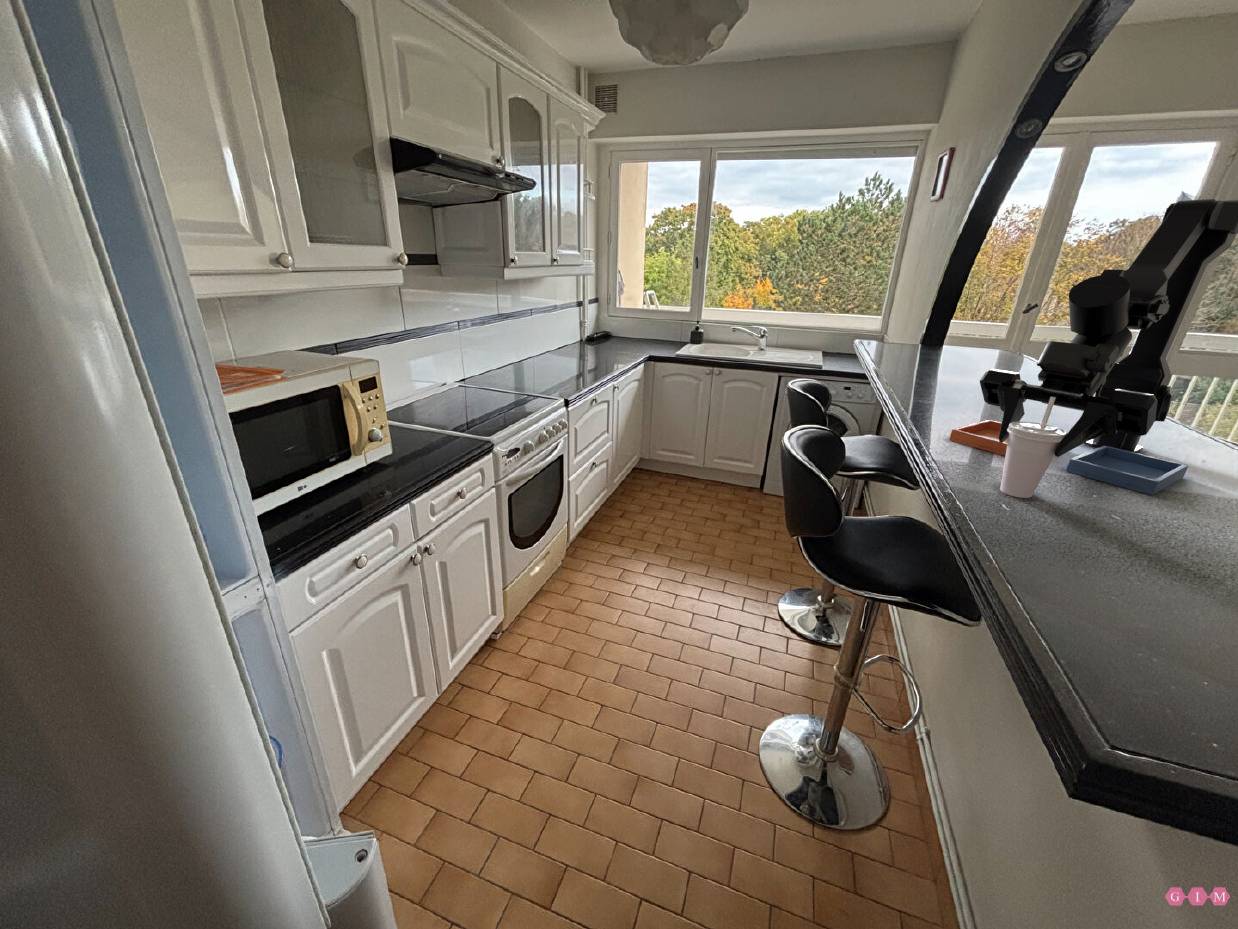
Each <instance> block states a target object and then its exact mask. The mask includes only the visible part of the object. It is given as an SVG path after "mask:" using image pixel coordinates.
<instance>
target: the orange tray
mask: <svg viewBox="0 0 1238 929" xmlns="http://www.w3.org/2000/svg"><path fill="white" fill-rule="evenodd" d="M1001 424H1002V421H996V420H993V419H986V420H982V421H978V422H975V423H971V424H967V425H963V426H959V427H956V428H952V429H951V432H950V436H949V439H948V440H949V441H952V442H955V443H958V444H962V445H965V446H969V447H973V448H976V449H980V450H982V451H987V452H990V453H993V454H997V455H1001V456H1004V457H1005V456H1006V450H1007V443H1008V438H1009V437H1008V438H1007V439H1006V440H1005V441H1004V442H999V434H1000V429H1001Z"/></svg>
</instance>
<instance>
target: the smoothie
mask: <svg viewBox="0 0 1238 929" xmlns="http://www.w3.org/2000/svg"><path fill="white" fill-rule="evenodd" d="M1055 399H1056V397H1050V400H1049V403H1048V404H1047V406H1046V409H1045V412H1044V415H1043V417H1042V420H1041V422H1034V421H1022V420H1020V421H1018V422H1012V423H1010V424H1009V427H1008V429H1007V431H1008V432H1009V438H1008V443H1007V450H1006V456H1004V463H1003V470H1002V475H1001V481H1000V486H999V487H1000V488H999V490H1000V491H1001V492H1002V493H1004V494H1005V495H1008V496H1011V497H1015V498H1020V499H1030V498H1032V497H1033V495H1034V494H1035V492H1036V490H1037V488H1038V486H1039V484H1040V482H1041V480H1042V479H1043V477H1044V475H1045V473H1046V471H1047V469H1048V468H1049V466H1050V464H1051V462H1052V460H1053V459H1054V458H1055V455H1054V452H1055V450H1056V448H1057V447H1058V445H1059V443H1060V442H1061V441H1062V439H1063V438H1064V437H1065V436H1066V435H1067V433H1068V432H1067V431H1066V430H1064V429H1063V428H1060V427H1057V426H1054V425H1050V424H1048V421H1049V418H1050V416H1051V412H1052V410H1053V407H1054V405H1053V404H1054V401H1055Z"/></svg>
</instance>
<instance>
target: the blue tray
mask: <svg viewBox="0 0 1238 929" xmlns="http://www.w3.org/2000/svg"><path fill="white" fill-rule="evenodd" d="M1189 466H1190V465H1188V464H1185V463H1180V462H1176V461H1171V460H1168V459H1163V458H1158V457H1156V456H1150V455H1147V454H1142V453H1138V452H1136V453H1134V452H1130V451H1125V450H1121V449H1117V448H1113V447H1108V446H1102V447H1100V448H1098V447H1096V448H1095V449H1092V450H1090V451H1087V452H1085V453H1081V454H1080V455H1077V456H1074V457H1072V458H1070V459H1069V462H1068V464H1067V466H1066V468H1065V471H1066V472H1068V473H1071V474H1074V475H1078V476H1082V477H1086V478H1089V479H1092V480H1096V481H1099V482H1102V483H1103V482H1104V483H1107V484H1110V485H1114V486H1116V487H1117V486H1118V487H1121V488H1125V489H1128V490H1130V491H1131V490H1132V491H1135V492H1139V493H1142V494H1146V495H1149V496H1154V495H1155V494H1157V493H1159V492H1160V491H1163V490H1164V489H1166V488H1168V487H1170V486H1171V485H1173V484H1175V483H1176V482H1178V481H1180V480H1181V479H1183V478H1184V477H1185V474H1187V473H1186V472H1187V471H1188V469H1189Z"/></svg>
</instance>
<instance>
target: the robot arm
mask: <svg viewBox="0 0 1238 929" xmlns="http://www.w3.org/2000/svg"><path fill="white" fill-rule="evenodd" d="M1164 211H1165V212H1164V215H1163V217H1162V220H1161V222H1160V224H1159V226H1158V228H1157V229H1156V230H1155V232H1154V233H1153V235H1151V237H1150V238H1149V240H1148V241H1147V242H1146V244H1145V245H1144V247H1143V248H1142V250H1140V252H1139V253H1138V255H1137V256H1136V257H1135V259H1134V260H1133V262H1132V263H1131V264H1130V265H1129V267H1128V268H1127V269H1108V268H1107V269H1103V270H1102V272H1101V273H1100V275H1095V276H1091V277H1088V278H1086V279H1084V280H1082V281H1080V282H1078V283H1077V284H1075V285H1073V286H1072V287H1071V288H1070V289H1069V292H1068V309H1069V310H1068V311H1069V312H1068V313H1069V327H1070V331H1071V332H1072V333H1075V336H1074V337H1073V339H1072V340H1071V341H1070V342H1065V341H1054V340H1049V341H1047V342H1046V344H1045V346H1044V348H1043V351H1042V352H1041V354H1040V356H1039V358H1038V361H1037V362H1036V367H1039V368H1040V369H1041V370H1040V371H1039V373H1038V374H1037V379H1038V380H1037V381H1040V382H1041V384H1040V385H1037V384H1032V383H1031V384H1030V383H1027V382H1026V381H1025V380H1022V379H1021V373H1020V372H1016V371H1009V370H1003V369H997V368H992V369H989V370H987V371H985V372H984V374H983V375H982V377H981V378H980V379H979V385H980V389H981V393H982V398H983V401H984V403H986V404H987V405H991V406H995V407H999V408H1000V410H1001V411H1002V412H1003V414H1002V420H1001V423H1002V424H1001V429H1000V434H999V442H1004V441H1005V440H1006V439H1007V438H1008V437H1009V432H1008V431H1007V429H1008V427H1009V424H1010V423H1012V422H1018V421H1022V419H1023V417H1024V416H1025V414H1026V413H1025V408H1024V403H1025V402H1026V401H1028V400H1029V401H1035V402H1039V403H1041V404H1045V405H1048V403H1049V400H1050V397H1056V399H1055V401H1054V404H1053V406H1056V407H1061V408H1065V409H1071V410H1076V411H1080V412H1082V414H1081V416H1080V417H1079V419H1078V420H1077V421H1076V422H1075V423H1074V425H1073V426H1072V427H1071V428H1070V430H1069V431H1068V432H1067V435H1066V436H1065V437H1064V438H1063V439H1062V441H1061V442H1060V443H1059V445H1058V447H1057V448H1056V450H1055V452H1054V457H1057V458H1059V457H1061V456H1063V455H1064V454H1067V453H1068V452H1070V451H1072V450H1074V449H1076V448H1078V447H1080V446H1082V445H1083V444H1084V445H1086V446H1089V447H1094V448H1100V447H1102V446H1108V447H1113V448H1117V449H1121V450H1125V451H1130V452H1134V453H1138V452H1140V451H1143V450H1144V446H1142V445H1139V442H1140V439H1141V437H1142V436H1147V435H1148V433H1149V432H1150V430H1151V428H1152V427H1153V425H1154V423H1156V422H1165V421H1166V418H1167V416H1168V414H1169V411H1170V407H1171V403H1172V399H1173V395H1172V393H1171V389H1172V387H1171V386H1170V385H1169V384H1170V381H1171V379H1172V376H1173V375H1172V372H1171V370H1170V367H1169V364H1168V361H1167V356H1168V354H1169V352H1170V350H1171V347H1172V346H1173V344H1174V340H1175V338H1176V336H1177V334H1178V331H1179V329H1180V328H1181V325H1182V322H1183V320H1184V318H1185V316H1186V314H1187V311H1188V309H1189V307H1190V304H1191V303H1192V300H1193V298H1194V296H1195V294H1196V291H1197V289H1198V287H1199V285H1200V283H1201V280H1202V278H1203V276H1204V274H1205V271H1206V269H1207V267H1208V265H1209V264H1210V263H1212V262H1213V261H1214V260H1216V259H1217V258H1218V257H1220V256H1221V255H1222V254H1223V253H1225V252H1227V251H1228V250H1229V249H1230V248H1231V247H1232V245H1233V243H1234V240H1235V239H1236V237H1237V235H1238V199H1230V200H1216V199H1215V198H1204V199H1189V200H1188V199H1187V200H1177V202H1172V203H1170V205H1168V207H1166V209H1165V210H1164ZM1131 330H1138V331H1137V334H1136V337H1135V339H1134V341H1133V344H1132V346H1131V349H1130V350H1129V353H1128V354H1127V355H1125V356H1124V352H1125V350H1126V349H1127V347H1128V346H1129V344H1130V343H1131V341H1132V340H1133V334H1132V331H1131ZM1122 356H1124V357H1123V358H1122V359H1120V358H1121V357H1122ZM1119 359H1120V360H1119Z"/></svg>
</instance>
